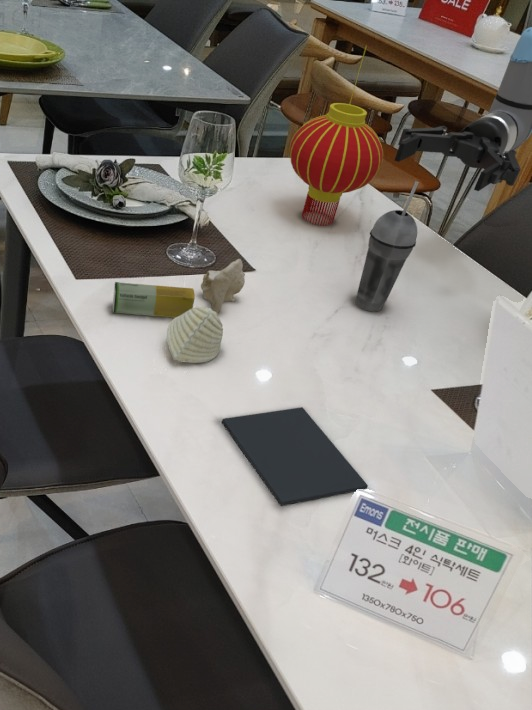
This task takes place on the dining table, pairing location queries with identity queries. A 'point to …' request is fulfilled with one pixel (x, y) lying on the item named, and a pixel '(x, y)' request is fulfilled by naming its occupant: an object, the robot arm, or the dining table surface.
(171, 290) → the medication box
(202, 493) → the dining table surface
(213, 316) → the seashell
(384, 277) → the beverage cup
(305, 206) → the lantern
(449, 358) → the dining table surface
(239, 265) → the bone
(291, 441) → the mat
